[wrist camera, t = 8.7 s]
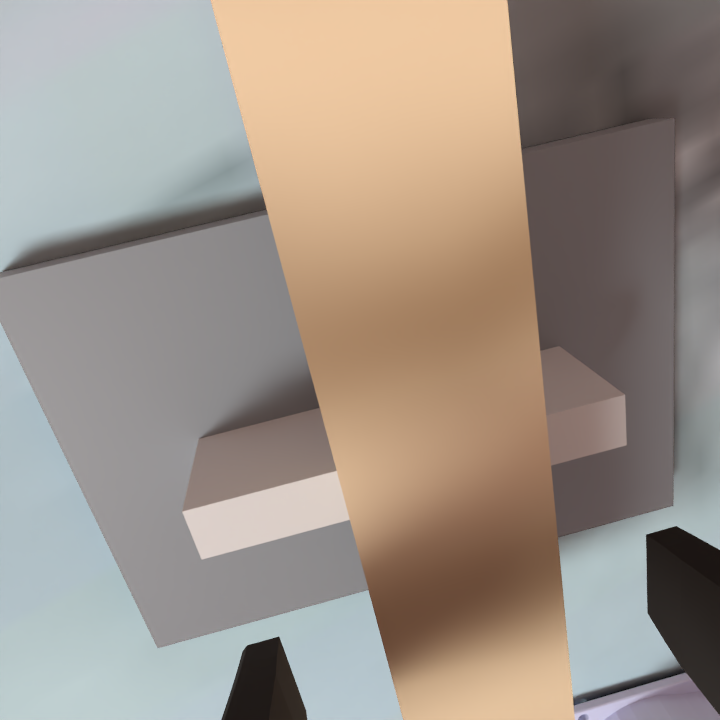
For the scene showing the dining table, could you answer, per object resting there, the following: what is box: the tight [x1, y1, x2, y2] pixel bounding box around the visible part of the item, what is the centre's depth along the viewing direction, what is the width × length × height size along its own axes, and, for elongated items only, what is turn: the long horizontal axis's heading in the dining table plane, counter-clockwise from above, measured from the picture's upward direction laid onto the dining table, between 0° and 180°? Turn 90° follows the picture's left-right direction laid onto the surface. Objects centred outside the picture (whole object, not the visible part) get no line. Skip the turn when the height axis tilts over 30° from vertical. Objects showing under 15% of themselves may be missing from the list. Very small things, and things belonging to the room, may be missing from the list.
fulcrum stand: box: [0, 118, 675, 648], centre depth 18 cm, size 20×14×5 cm
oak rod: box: [211, 0, 575, 720], centre depth 13 cm, size 22×4×5 cm, turn 12°
